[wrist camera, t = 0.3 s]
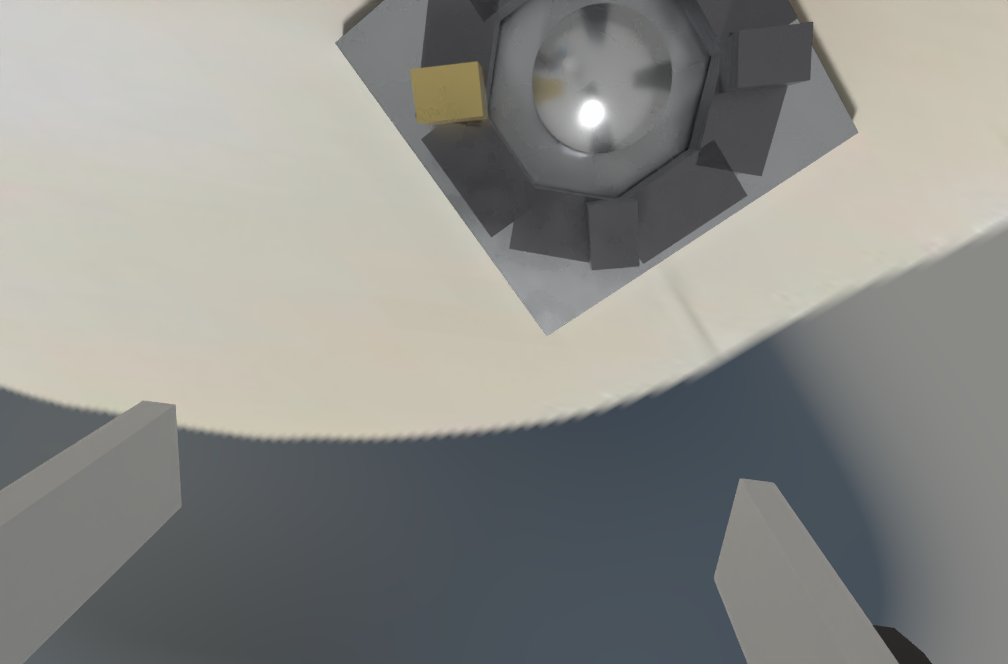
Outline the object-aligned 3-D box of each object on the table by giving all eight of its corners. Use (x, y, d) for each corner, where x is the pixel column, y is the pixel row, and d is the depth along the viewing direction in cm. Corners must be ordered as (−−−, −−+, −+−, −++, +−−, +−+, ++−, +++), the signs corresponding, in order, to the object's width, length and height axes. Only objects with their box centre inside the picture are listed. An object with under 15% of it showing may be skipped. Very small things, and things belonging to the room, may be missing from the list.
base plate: (340, 45, 34) (312, 31, 30) (655, -227, 30) (674, -289, 25) (546, 331, 39) (547, 354, 34) (849, 132, 34) (893, 130, 30)
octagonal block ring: (362, 46, 33) (328, 27, 28) (653, -202, 29) (677, -280, 24) (552, 312, 37) (553, 339, 31) (832, 126, 33) (887, 122, 27)
